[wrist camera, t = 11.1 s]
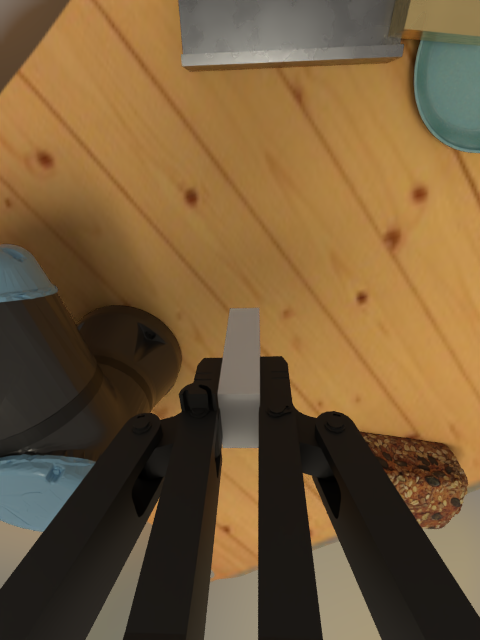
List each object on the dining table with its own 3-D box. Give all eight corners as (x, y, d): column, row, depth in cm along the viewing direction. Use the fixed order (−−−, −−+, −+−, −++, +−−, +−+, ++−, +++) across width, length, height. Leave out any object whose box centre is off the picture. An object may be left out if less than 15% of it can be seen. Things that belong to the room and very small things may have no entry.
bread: (314, 468, 60) (323, 527, 51) (332, 422, 55) (346, 480, 46) (422, 484, 60) (449, 545, 52) (450, 440, 55) (486, 500, 47)
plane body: (190, 71, 33) (182, 66, 30) (180, -46, 30) (170, -68, 26) (386, 63, 32) (402, 56, 29) (404, -60, 28) (424, -85, 25)
